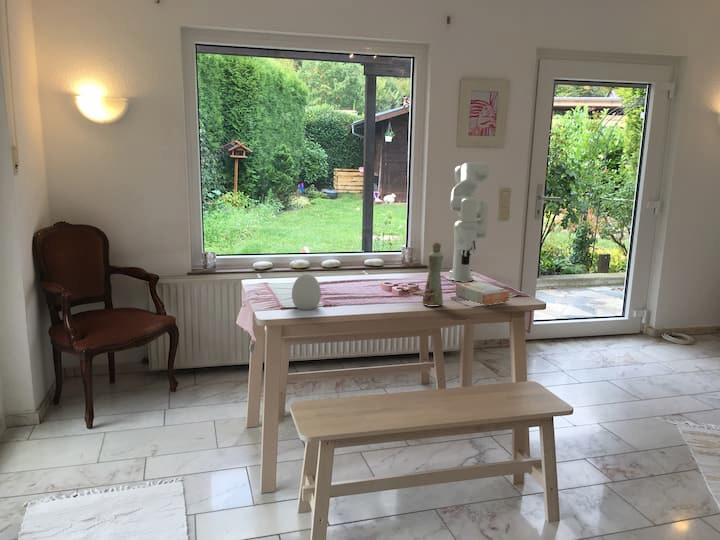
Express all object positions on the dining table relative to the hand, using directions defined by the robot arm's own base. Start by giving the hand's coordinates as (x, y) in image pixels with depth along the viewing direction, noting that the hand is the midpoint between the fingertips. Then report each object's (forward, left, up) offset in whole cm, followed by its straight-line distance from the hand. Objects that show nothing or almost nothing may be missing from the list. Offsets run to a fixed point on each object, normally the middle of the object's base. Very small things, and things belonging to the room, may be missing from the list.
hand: (465, 264), depth 277 cm
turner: (-12, -18, -15) cm, 26 cm away
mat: (+10, 0, -15) cm, 18 cm away
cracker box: (0, +2, -12) cm, 12 cm away
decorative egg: (-9, -76, -15) cm, 78 cm away
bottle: (+8, -23, -16) cm, 29 cm away
